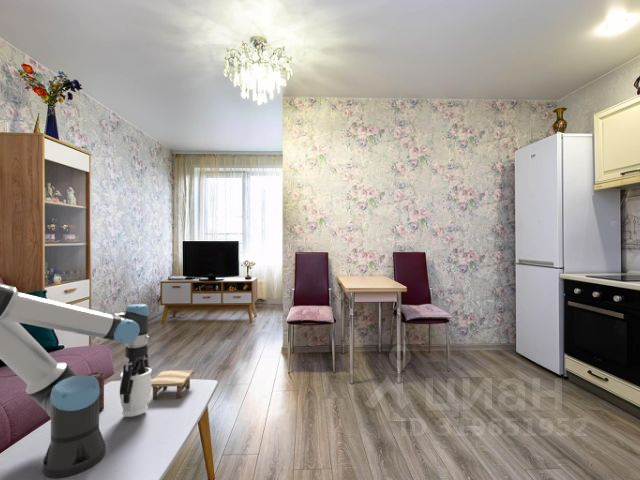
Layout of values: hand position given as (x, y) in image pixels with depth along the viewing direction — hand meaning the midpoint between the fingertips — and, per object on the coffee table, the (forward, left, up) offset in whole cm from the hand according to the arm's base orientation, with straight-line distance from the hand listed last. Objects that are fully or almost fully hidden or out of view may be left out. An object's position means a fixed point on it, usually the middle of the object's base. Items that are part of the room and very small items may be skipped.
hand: (135, 403), depth 124 cm
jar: (0, 0, -3) cm, 3 cm away
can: (+4, +18, -5) cm, 19 cm away
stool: (+18, -6, -4) cm, 20 cm away
